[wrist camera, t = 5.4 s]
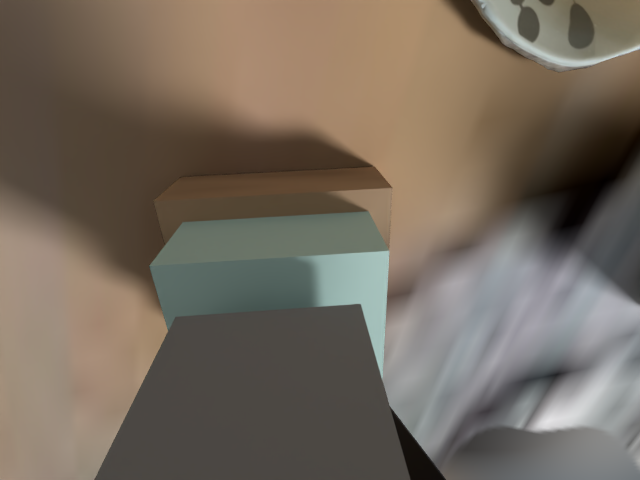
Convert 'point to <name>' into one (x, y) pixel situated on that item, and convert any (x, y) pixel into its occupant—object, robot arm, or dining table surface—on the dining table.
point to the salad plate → (565, 29)
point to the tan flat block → (276, 197)
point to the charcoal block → (261, 402)
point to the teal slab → (276, 267)
